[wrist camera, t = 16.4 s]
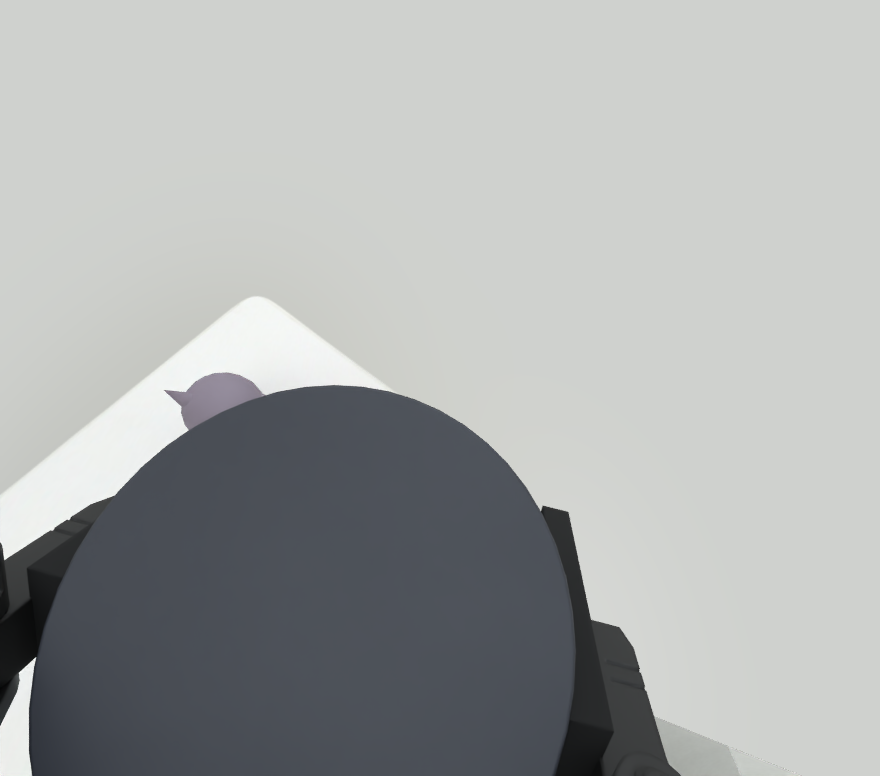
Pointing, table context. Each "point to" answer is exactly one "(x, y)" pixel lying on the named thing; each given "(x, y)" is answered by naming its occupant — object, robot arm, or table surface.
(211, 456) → the hat
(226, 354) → the table surface
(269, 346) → the table surface
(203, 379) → the cat figurine
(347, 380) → the table surface
